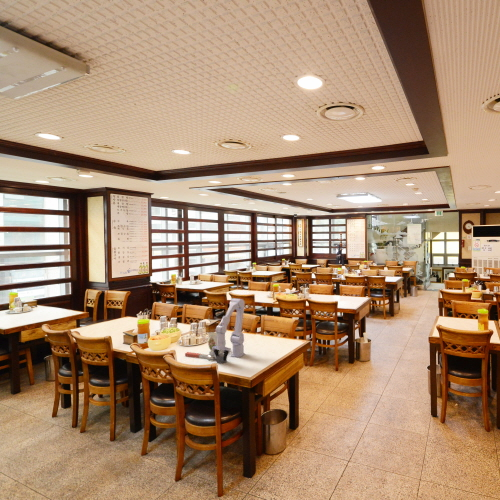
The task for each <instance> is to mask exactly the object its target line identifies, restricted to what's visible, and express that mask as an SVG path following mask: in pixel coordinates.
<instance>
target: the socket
mask: <svg viewBox="0 0 500 500" xmlns="http://www.w3.org/2000/svg"><path fill="white" fill-rule="evenodd" d="M227 361H228V358H227V359H226V361H224V353H219V355H217V356H216V360H215V362H217V363H216V364H225V363H226V362H227Z"/></svg>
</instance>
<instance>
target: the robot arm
mask: <svg viewBox="0 0 500 500" xmlns="http://www.w3.org/2000/svg"><path fill="white" fill-rule="evenodd" d="M245 303H246V302H245V300H244V299H243V298H234V297H232V298H231V299H230V301H229V307H228V309H227V311H226V313H225V315H223V316H222V318H221V321H220V322H219V324H218V325H217V326H216V327H215V329H214V331H215V332H216V334H217V346H213V347H212V350H214V353H215V355H216V356H217V355H219V354H220V351H222V352H223V353H222V354H224V361H226V359H227V360H228V355H229V352H231V351H232V354H231V355H230V357H234V358H241V357H242V356H244V355H245V352H244V351H245V350H244V342H245V336H244V333H243V332H242V328H243V321H244V320H243V319H244V312H245ZM235 310H236V315H235V316H236V317H235V324H234V331H232V332H231V336H230V338H229V340H230V343H231V344H232V348H231V347H227V346H226V345H225V341H226V333H227V329H228V325H229V323H230V321H231V317H232V315H233V313H234V312H235ZM226 362H227V361H226Z"/></svg>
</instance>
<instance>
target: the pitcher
mask: <svg viewBox="0 0 500 500" xmlns="http://www.w3.org/2000/svg"><path fill="white" fill-rule="evenodd" d="M205 334H207V337H208V339H207V346H208V349H209V350H210V351H214V350H212V347H213V346H217V334H216V331H215V332H212V331H211V332H210V331H209V332H208V331H207V332H205ZM226 342H227V340H225V346H226V344H227V343H226Z"/></svg>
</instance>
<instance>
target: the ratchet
mask: <svg viewBox="0 0 500 500" xmlns="http://www.w3.org/2000/svg"><path fill="white" fill-rule="evenodd" d="M184 355H185V356H184V357H189V358H195V359H196V358H197V359H205V360H207V361H210V360H213V361H216V355H215V353H214V351H211V350H210V351H209V353H208V354H204V353H199V352H198V353H197V352H191V351H190V352H189V351H187V352H185V353H184Z"/></svg>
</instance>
